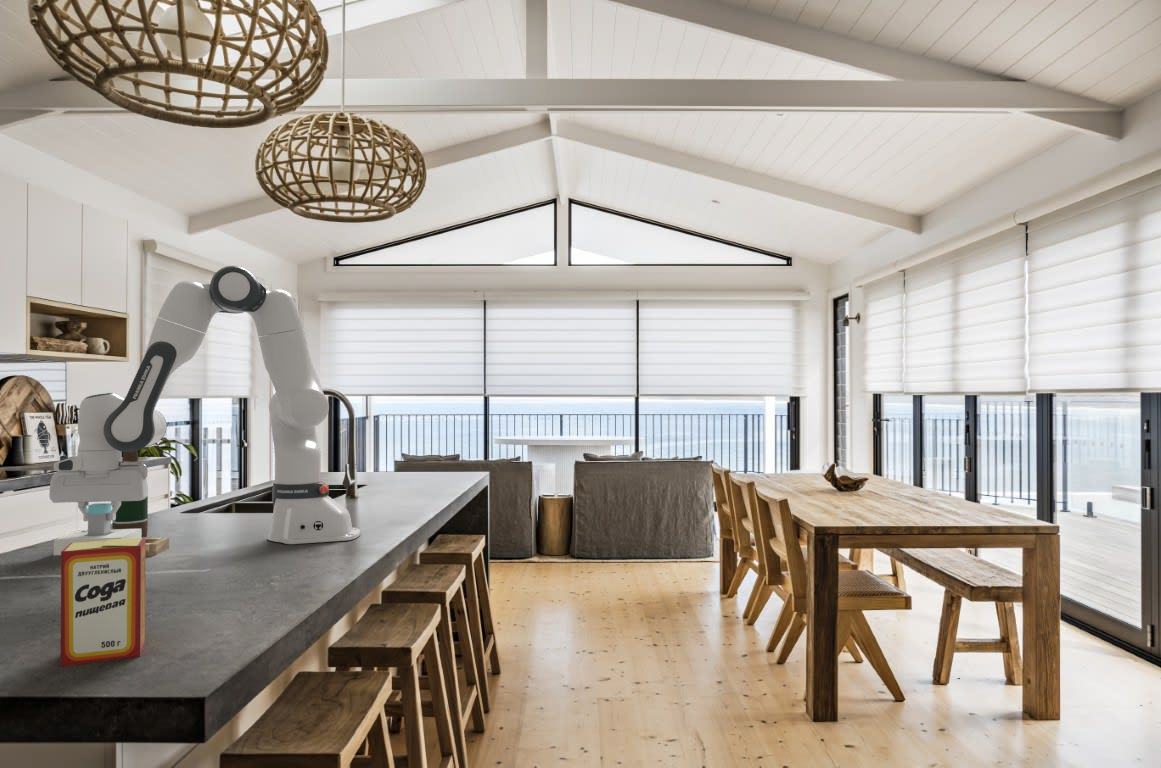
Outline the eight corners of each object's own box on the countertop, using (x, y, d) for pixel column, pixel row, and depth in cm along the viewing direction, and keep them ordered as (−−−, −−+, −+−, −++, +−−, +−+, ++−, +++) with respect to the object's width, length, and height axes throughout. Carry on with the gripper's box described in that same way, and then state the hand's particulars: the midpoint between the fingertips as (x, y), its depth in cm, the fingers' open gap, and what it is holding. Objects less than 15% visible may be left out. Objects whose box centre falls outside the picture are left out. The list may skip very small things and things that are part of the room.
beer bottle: (104, 540, 193) (105, 445, 194) (131, 535, 201) (131, 443, 201) (129, 542, 191) (129, 446, 191) (154, 536, 199) (155, 444, 199)
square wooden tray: (169, 550, 182) (169, 537, 182) (156, 557, 174) (156, 544, 174) (132, 551, 180) (132, 538, 180) (118, 558, 173) (118, 545, 173)
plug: (110, 540, 183) (111, 503, 183) (103, 543, 180) (104, 505, 180) (94, 541, 182) (95, 503, 183) (87, 544, 179) (88, 505, 179)
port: (141, 544, 188) (141, 527, 188) (120, 555, 176) (120, 536, 176) (78, 546, 186) (79, 529, 186) (53, 557, 174) (53, 538, 174)
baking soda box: (60, 666, 105) (61, 548, 105) (69, 651, 111) (70, 540, 111) (140, 656, 109) (140, 543, 109) (145, 642, 115) (145, 535, 115)
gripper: (152, 460, 186) (152, 517, 186) (59, 461, 183) (59, 519, 183) (142, 462, 180) (141, 521, 180) (45, 463, 177) (45, 524, 176)
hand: (99, 520), depth 181 cm, fingers closed on plug, 3 cm apart
